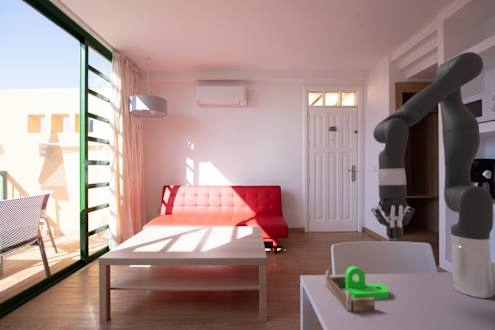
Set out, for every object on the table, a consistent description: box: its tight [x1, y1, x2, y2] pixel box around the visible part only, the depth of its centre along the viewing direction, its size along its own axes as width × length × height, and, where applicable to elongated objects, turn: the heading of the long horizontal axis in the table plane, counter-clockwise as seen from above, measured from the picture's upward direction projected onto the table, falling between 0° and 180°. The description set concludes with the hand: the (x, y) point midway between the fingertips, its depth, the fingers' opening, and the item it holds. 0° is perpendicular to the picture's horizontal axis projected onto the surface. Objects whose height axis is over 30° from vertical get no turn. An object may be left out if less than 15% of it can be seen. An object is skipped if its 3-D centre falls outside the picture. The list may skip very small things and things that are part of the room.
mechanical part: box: [344, 265, 390, 300], centre depth 78 cm, size 12×6×8 cm, turn 95°
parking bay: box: [325, 270, 376, 313], centre depth 77 cm, size 8×16×5 cm, turn 4°
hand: (394, 239), depth 78 cm, fingers closed
